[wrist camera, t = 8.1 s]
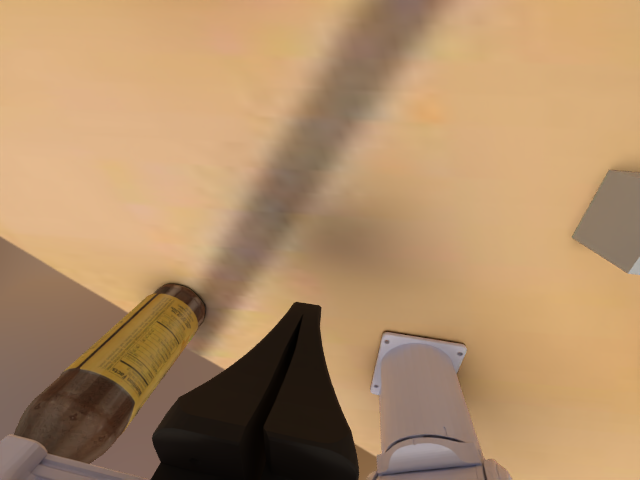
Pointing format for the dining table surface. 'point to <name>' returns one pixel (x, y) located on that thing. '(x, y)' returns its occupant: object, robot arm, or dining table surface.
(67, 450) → the sauce bottle
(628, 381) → the dining table surface
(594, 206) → the block
